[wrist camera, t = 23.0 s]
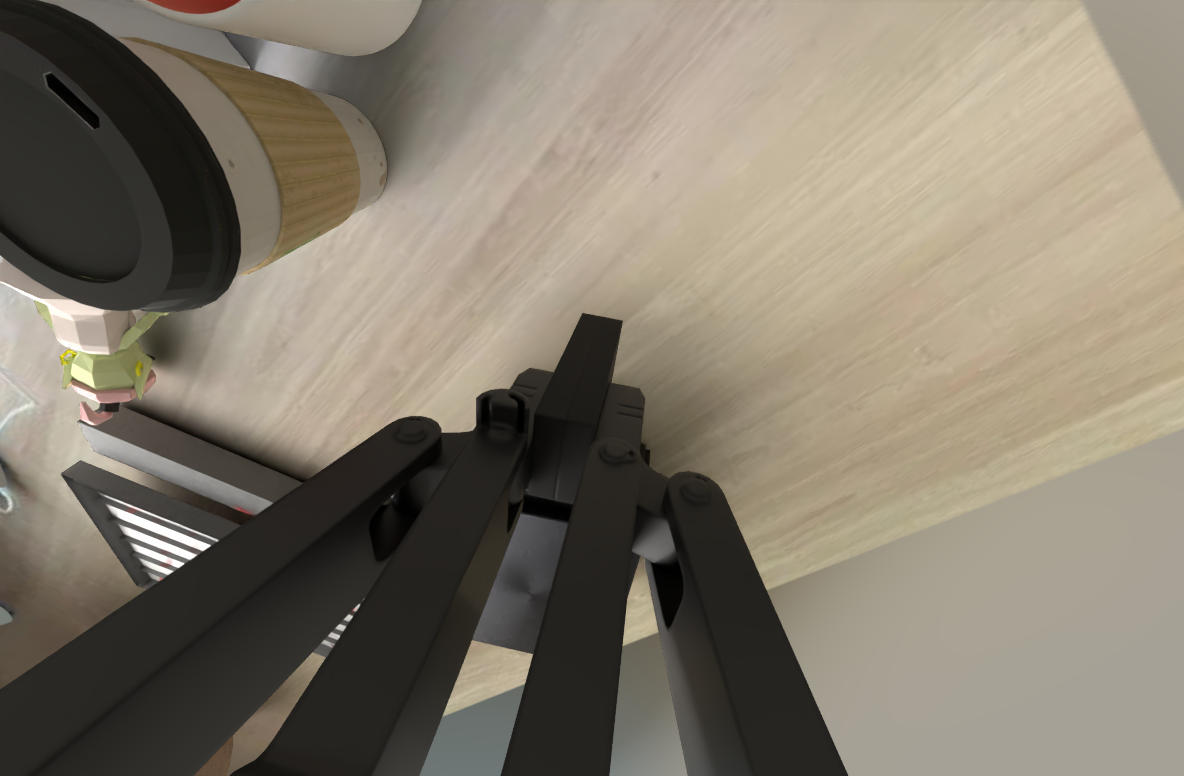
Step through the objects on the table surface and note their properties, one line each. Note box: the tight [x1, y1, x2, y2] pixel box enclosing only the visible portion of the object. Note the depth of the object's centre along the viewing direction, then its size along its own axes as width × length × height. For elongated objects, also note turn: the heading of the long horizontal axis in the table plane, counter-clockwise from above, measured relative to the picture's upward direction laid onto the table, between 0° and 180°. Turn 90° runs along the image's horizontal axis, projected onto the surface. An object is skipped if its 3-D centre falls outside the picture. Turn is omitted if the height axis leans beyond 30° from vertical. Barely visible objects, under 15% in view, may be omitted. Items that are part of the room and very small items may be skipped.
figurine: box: [0, 258, 169, 425], centre depth 33 cm, size 9×7×15 cm
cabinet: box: [472, 449, 650, 654], centre depth 36 cm, size 17×14×9 cm
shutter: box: [61, 406, 364, 657], centre depth 50 cm, size 32×7×31 cm
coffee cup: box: [0, 0, 387, 313], centre depth 20 cm, size 10×10×15 cm
